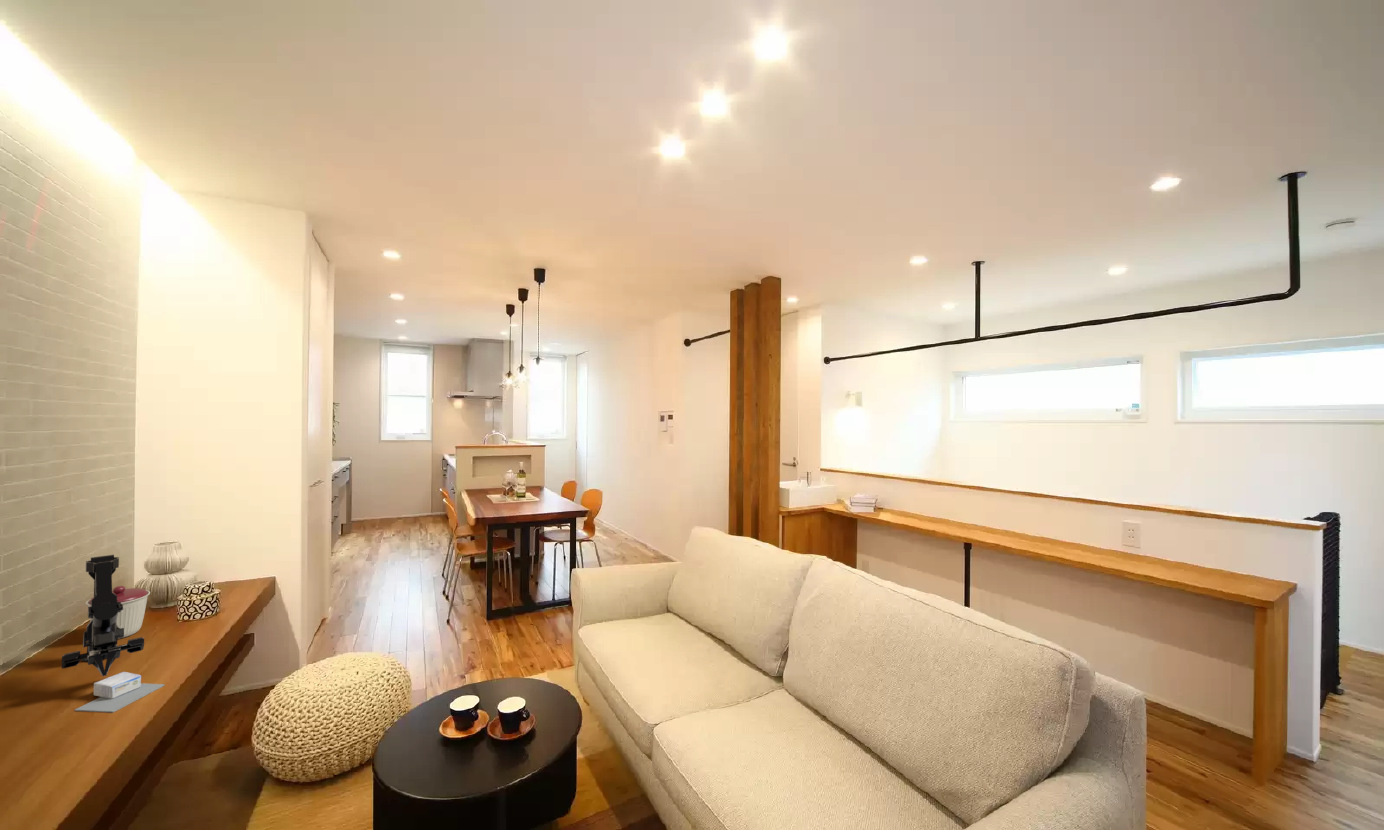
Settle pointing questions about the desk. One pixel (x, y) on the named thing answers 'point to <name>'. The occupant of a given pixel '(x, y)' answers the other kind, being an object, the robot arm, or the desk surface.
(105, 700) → the slate mat
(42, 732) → the desk surface
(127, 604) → the canister
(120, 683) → the medicine box
